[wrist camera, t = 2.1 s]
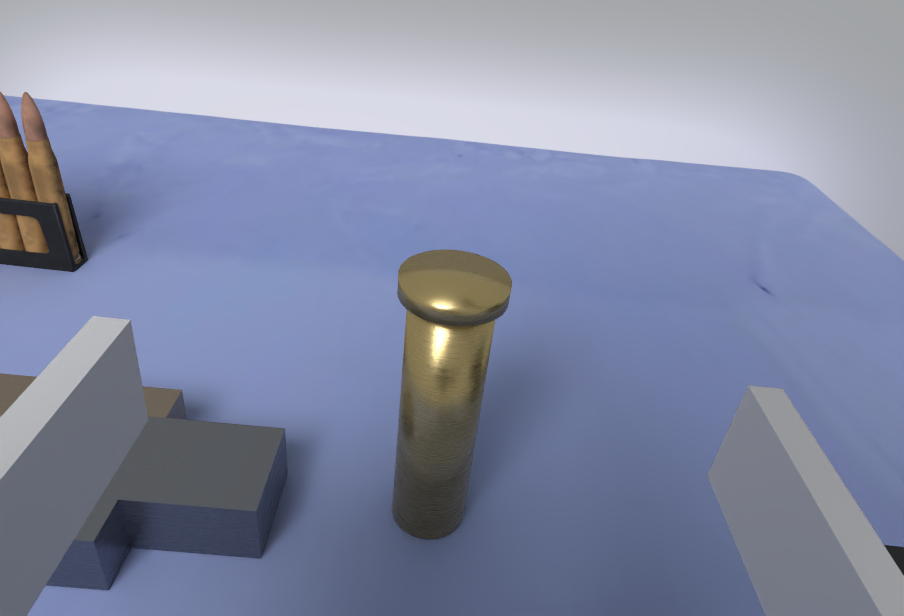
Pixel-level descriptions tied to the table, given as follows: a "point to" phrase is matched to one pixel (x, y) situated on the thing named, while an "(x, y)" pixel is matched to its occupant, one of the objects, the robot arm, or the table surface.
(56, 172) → the ammunition clip
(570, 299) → the table surface
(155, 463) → the chain joint
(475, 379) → the link pin
